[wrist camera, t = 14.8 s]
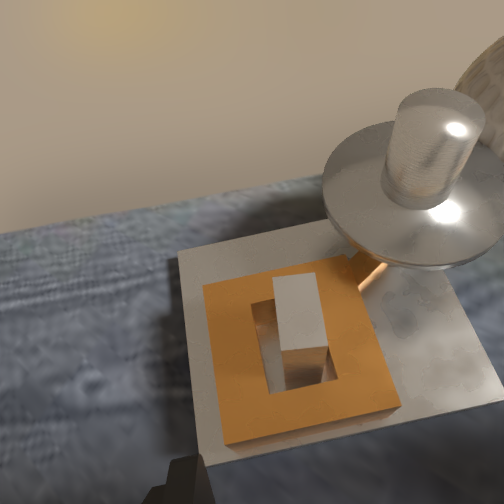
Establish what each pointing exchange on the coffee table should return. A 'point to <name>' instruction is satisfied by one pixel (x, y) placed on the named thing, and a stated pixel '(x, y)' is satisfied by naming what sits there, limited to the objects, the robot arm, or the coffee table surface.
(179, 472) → the robot arm
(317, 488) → the coffee table surface
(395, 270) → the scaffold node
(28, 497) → the coffee table surface
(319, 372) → the grey rectangular peg
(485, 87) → the vase
